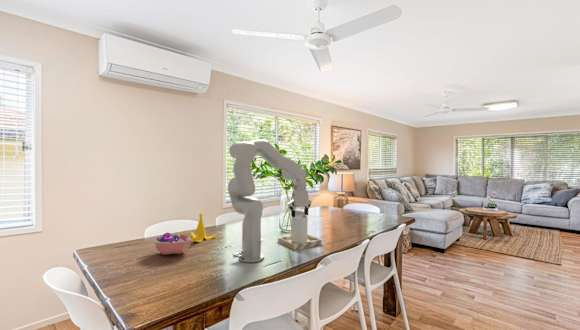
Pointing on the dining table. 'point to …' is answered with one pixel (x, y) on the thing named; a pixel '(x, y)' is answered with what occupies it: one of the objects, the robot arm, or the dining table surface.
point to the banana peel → (201, 232)
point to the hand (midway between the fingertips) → (299, 215)
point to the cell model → (172, 243)
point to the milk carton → (299, 227)
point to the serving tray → (295, 246)
